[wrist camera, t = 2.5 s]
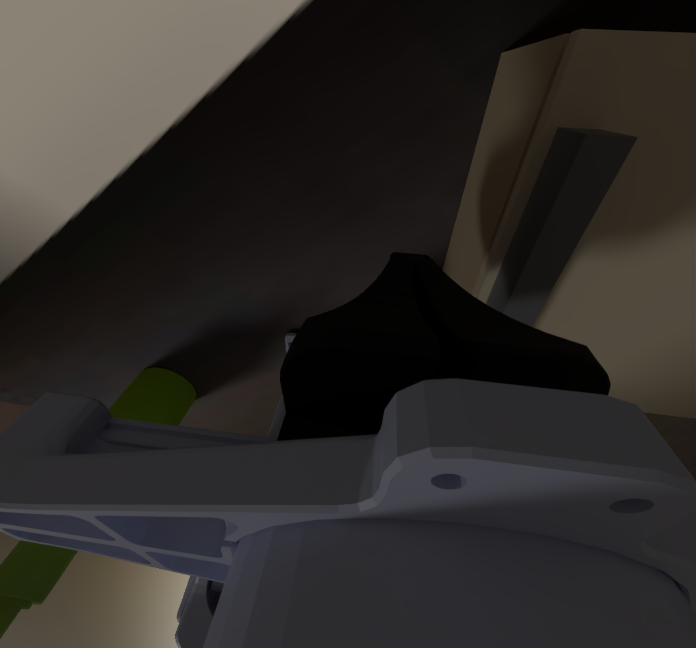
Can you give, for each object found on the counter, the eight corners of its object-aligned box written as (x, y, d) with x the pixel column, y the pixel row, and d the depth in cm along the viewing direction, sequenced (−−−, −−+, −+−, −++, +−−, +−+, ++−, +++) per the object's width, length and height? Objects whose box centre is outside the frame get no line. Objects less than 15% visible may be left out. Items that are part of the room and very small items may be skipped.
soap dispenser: (124, 380, 31) (-139, 667, 16) (161, 360, 28) (-115, 687, 13) (169, 410, 34) (-15, 679, 19) (207, 395, 31) (27, 698, 16)
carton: (664, 338, 20) (744, 412, 16) (430, 314, 21) (440, 377, 17) (922, 71, 11) (1285, 60, 7) (501, 53, 12) (566, 33, 8)
